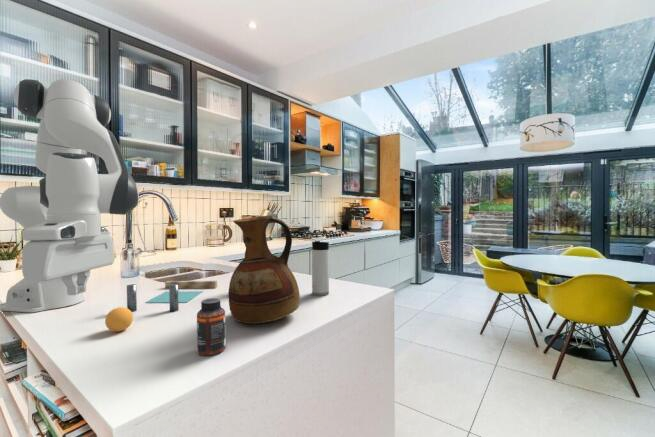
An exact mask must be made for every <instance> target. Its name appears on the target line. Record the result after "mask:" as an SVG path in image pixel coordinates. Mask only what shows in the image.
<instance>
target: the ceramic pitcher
mask: <svg viewBox="0 0 655 437" xmlns="http://www.w3.org/2000/svg"><path fill="white" fill-rule="evenodd" d="M233 223H234V224H235V225H236V226H238V227H239V228H240V230H241V231H242V241H243V244H244V246H245V252H244V258H243V259H242V260H241V262H239V264H238V265H237V266H236V268H235V269H234V270H233V273H232V275H231V277H230V280H229V286H228V293H227V294H228V295H227V296H228V306H229V311H230V314H231V316H232V318H233V319H234V320H236V321H238V322H240V323H244V324H245V323H246V324H261V323H262V324H263V323H268V322H271V321H278V320H279V319H282V318H285V317H286V316H289V315H291V314H293V313H295V311H297V310H298V309H299V307H300V303H301V302H300V300H301V295H300V289H299V286H298V285H299V284H298V282H297V279H296V277H295V275H294V274H293V271H292V270H291V269H290V267H289V265H288V263H289V262H288V261H289V258H290V253H291V249H292V245H293V238H292V237H293V236H292V232H291V229H290V227H289V226H288V224H286V222H285V221H283V220H282V219H280V218H278V217H277V216H273V215H271V214H268V215H261V216H256V217H248V218H247V217H245V218H241V219H240V218H239V219H235V220H233ZM272 223H273V224H274V223H276V224H278V225H280V226H281V228H282V229H283V231H284V235H285V236H284V237H285V243H284V248H283V251H282V253H281V255H280V256H277V255H275V254H273V253H272V252H271V250H270V248H269V246H268V241H267V228H268V225H269V224H272Z"/></svg>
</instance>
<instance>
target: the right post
mask: <svg viewBox="0 0 655 437" xmlns="http://www.w3.org/2000/svg"><path fill="white" fill-rule="evenodd" d="M168 289H169V291H168V292H169V300H170V303H169V312H171V313H174V312H179V310H180V309H179V304H180V303H178V291H179V288H178V284H171V285H169V288H168Z"/></svg>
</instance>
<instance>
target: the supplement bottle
mask: <svg viewBox="0 0 655 437" xmlns="http://www.w3.org/2000/svg"><path fill="white" fill-rule="evenodd" d="M200 303H201V306H200V307H201V308H200V310H198V311H197V313H196V339H197V340H196V341H197V345H196V346H197V353H198V354H199V355H201V356H215V355H217V354H220V353H222V352H223V351H224V350H225V349H226V348H227V347H226V343H227V342H226V341H227V340H226V338H227V336H226V310H225V309H224V308H223V307H222V306H221V305H222V304H221V299H220V298H217V297H212V298H210V297H209V298H206V299H203V300H201V302H200Z"/></svg>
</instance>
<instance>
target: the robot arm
mask: <svg viewBox="0 0 655 437" xmlns="http://www.w3.org/2000/svg"><path fill="white" fill-rule="evenodd" d="M13 101H14V104H15V105H16V107H17V110H18V111H19V112H20V113H21V114H22V115H24V116H27V117H29V118H32V119H40V122H39V126H38V129H37V136H36V146H35V160H34V164H35V167H36V168H37V169H38V170H39V171H40V172H41V173H43V174H45V176H44V177H43V178H41V179H40V180H39V185H21V186H13V187H9V188H6V190H4V191H3V192H2V194H0V210H1V212H2V213H3V214H4V215H5V216H6V217H7V218H9V219H10V220H12V221H15V222H16V223H17V224H19V225H20V226H21V227H23V228H24V229H23V231H22V232H21V236H22V240H23V241H26V243H25V244H24V245H23V248H22V253H21V272H22V276H23V278H22V279H21V280H19V281H18V282H16V283H15V284H14V285H12V286H10V287H9V289H8V290H7V293H6V297H5V302H3V303H1V304H0V311H1V312H3V311H5V312H21V313H36V312H42V311H47V310H53V309H59V308H60V309H61V308H63V307H64V308H65V307H68V306H72V305H76V304H80V303H82V302H84V301H85V297H84V295H83V293H86V291H87V283H88V282H89V278H90V276H91V270H95V269H99V268H103V267H108V266H111V265H113V264H114V262H115V260H116V259H115V258H116V256H115V248H114V247H115V246H114V241H113V238H112V236H111V234H110V233H111V232H110V231H109V230H108V229H107V228H106V227H104V226H101V214H109V215H120V216H121V215H125V216H126V215H127V214H128V213H130V212H131V211H133V210H134V209H135V208H137V206H138V204H139V197H140V196H139V194H140V193H139V189H138V186H137V183H136V181H135V180H134V178H133V176H132V174H131V173H130V170H129V168H128V166H127V163H126V160H125V157H124V156H123V152H122V150H121V147H120V145H119V143H118V141H117V138H116V136H115V135H114V133H113V131H111V130H109V129H108V128H107V127H108V124H109V123H110V121H111V117H112V111H111V108H110V104H109V102H108V101H107V100H106V99H105V98H103V97H101V96H98V95H96V94H94V95H93V94H91V92H90V91H89V89H87V87H86V86H84V85H83V84H81V83H80V82H78V81H76V80H73V79H69V78H67V79H66V78H63V79H62V78H61V79H56V80H54V81H53V82H51V83H49V82H43V81H42V82H41V81H40V80H38V79H30V78H29V79H27V78H25V79H23V80H20V81H19V83H18V84H17V85H16V86H15V88H14V91H13ZM82 151H85V152H88V153H91V154H93V155H96V156H97V157H99V158H101V159H102V160H103V161H104V164H105V168H106V170H107V172H108V173H98V169H97V168H98V167H97V164H96V160H95V158H94V157H93V156H91V155H88V154H84V153H82Z"/></svg>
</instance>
